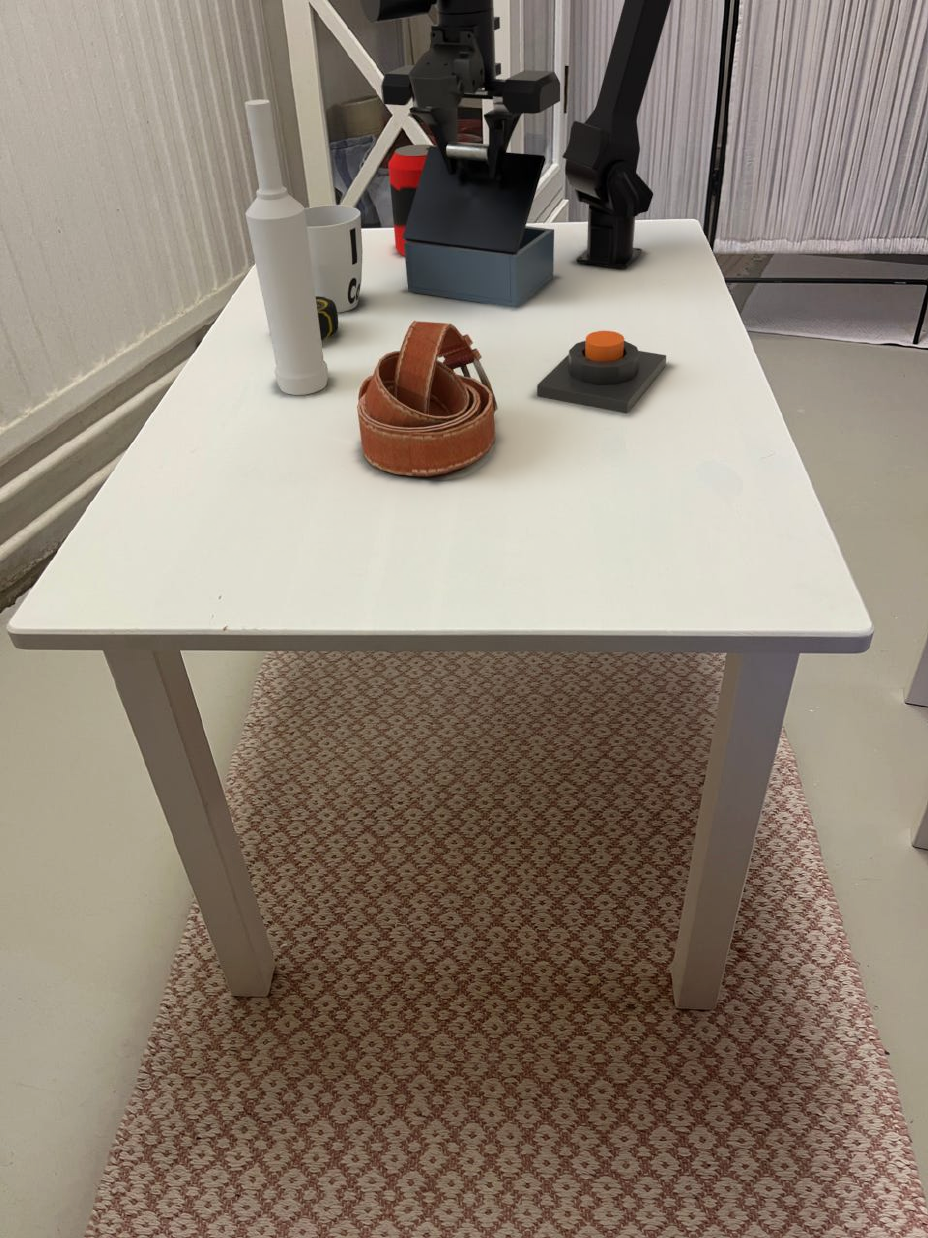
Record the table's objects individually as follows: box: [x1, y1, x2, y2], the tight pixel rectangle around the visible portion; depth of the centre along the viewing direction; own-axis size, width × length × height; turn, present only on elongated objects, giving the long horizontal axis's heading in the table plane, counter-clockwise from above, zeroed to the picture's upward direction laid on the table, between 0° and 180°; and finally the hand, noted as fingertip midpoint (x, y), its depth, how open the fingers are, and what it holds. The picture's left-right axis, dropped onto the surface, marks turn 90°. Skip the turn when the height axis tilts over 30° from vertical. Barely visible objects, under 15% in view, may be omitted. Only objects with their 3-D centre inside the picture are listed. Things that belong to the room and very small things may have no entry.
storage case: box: [404, 225, 555, 309], centre depth 110 cm, size 10×14×6 cm
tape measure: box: [316, 296, 340, 342], centre depth 100 cm, size 7×7×4 cm
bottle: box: [244, 99, 329, 396], centre depth 84 cm, size 5×5×25 cm
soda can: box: [387, 144, 438, 257], centre depth 119 cm, size 8×8×12 cm
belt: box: [356, 320, 499, 478], centre depth 79 cm, size 14×13×10 cm
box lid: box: [402, 141, 547, 255], centre depth 102 cm, size 11×14×5 cm
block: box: [536, 339, 667, 414], centre depth 89 cm, size 11×9×3 cm
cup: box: [304, 204, 363, 314], centre depth 105 cm, size 8×8×10 cm
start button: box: [585, 330, 625, 362], centre depth 88 cm, size 4×4×2 cm
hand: (473, 175), depth 103 cm, fingers closed on box lid, 5 cm apart
